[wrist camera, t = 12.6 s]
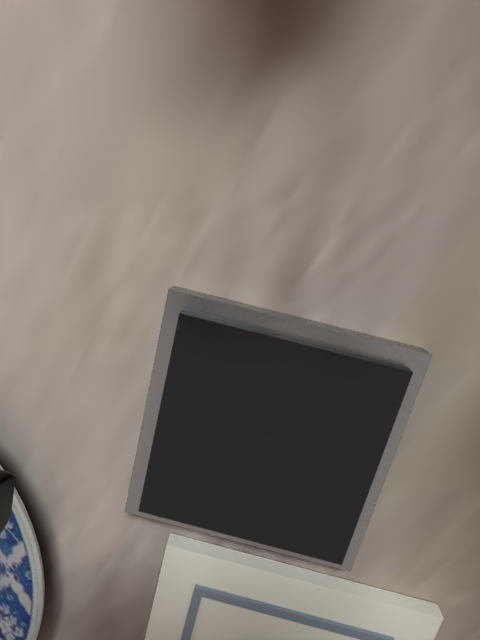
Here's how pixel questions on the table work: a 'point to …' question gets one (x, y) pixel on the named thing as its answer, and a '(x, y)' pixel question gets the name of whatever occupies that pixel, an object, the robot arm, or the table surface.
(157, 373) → the ink pad
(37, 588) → the ceramic plate
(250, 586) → the white flat square panel
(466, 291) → the table surface
